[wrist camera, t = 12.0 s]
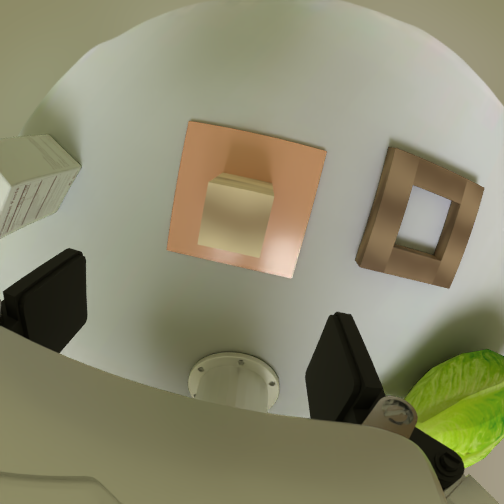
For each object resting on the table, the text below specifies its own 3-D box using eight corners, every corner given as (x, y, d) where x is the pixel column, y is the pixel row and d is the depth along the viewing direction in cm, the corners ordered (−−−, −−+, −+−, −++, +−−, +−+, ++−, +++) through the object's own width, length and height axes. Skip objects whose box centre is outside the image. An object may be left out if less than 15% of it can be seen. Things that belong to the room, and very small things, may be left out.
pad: (291, 276, 34) (291, 278, 33) (168, 248, 34) (166, 250, 33) (325, 151, 29) (326, 151, 29) (190, 121, 29) (188, 120, 28)
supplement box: (25, 179, 31) (-44, 200, 19) (49, 132, 29) (-25, 139, 17) (57, 214, 33) (-11, 247, 21) (84, 167, 31) (10, 185, 19)
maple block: (261, 230, 32) (259, 258, 24) (213, 219, 32) (197, 244, 24) (272, 183, 30) (274, 196, 23) (222, 172, 30) (208, 182, 22)
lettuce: (360, 356, 38) (396, 459, 22) (503, 307, 35) (566, 370, 19) (363, 432, 44) (382, 514, 28) (483, 388, 41) (521, 450, 24)
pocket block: (441, 281, 34) (449, 288, 32) (354, 260, 33) (359, 267, 31) (475, 184, 29) (484, 187, 27) (388, 147, 29) (395, 147, 27)
